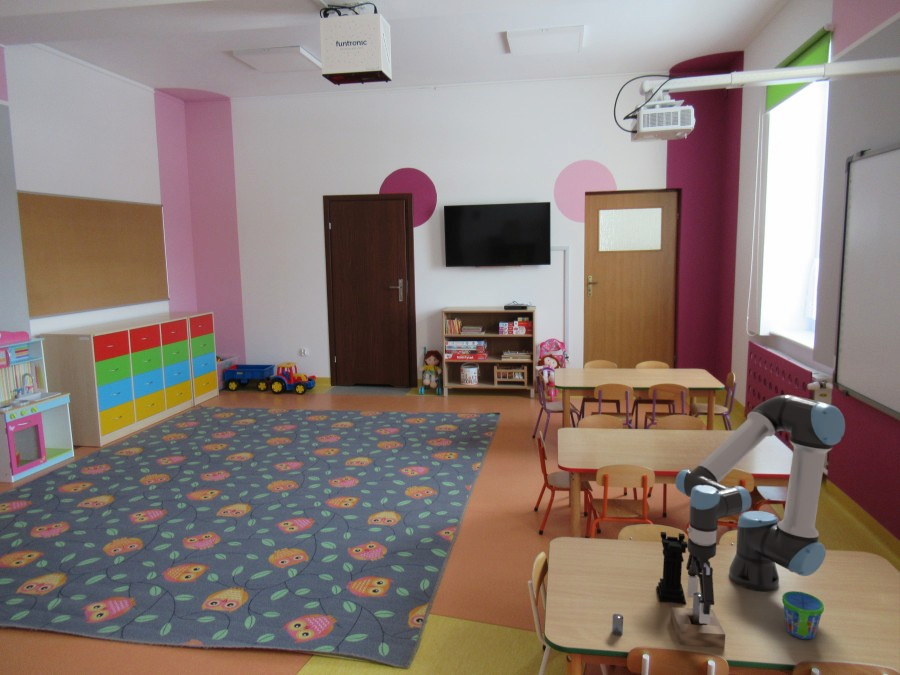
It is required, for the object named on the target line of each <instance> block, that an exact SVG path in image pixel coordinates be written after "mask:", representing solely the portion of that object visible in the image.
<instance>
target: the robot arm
mask: <svg viewBox="0 0 900 675" xmlns="http://www.w3.org/2000/svg"><path fill="white" fill-rule="evenodd" d="M781 431H783V432H784V431H785V432H787V433H790V434H789V443H790V444H791V445H792V446H793V452H792V459H791V464H790V472H789V480H788V485H787V493H786V499H785V500H786V501H785V506H784V513H783V519H782V520H780V521H779V519H778V518H779V517H778V516H777V515H776V514H773V513H770V512H767V511H761V510H760V511H759V510H749V509H750V508H751V506H752V497H751V494H750V493H749V491H748V490H747V488H745V487H743V486H741V485H732V486H727V485H724V484H723V483H720V482H721V481H722V480H723V479H724V478H725V477H727V475H728V474H730V472H731V471H732V470H733V469H734V468H735V467H737V466H738V465H739V464H740V462H742V460H744V459H745V458H746V457H747V456H748V455H749V454H750V453H751V452H753V450H755V448H757V446H758V445H759V444H761V443H762V442H763V441H764V440H765V439H766V437H772V436H774V435H775V434H776V433H777V432H781ZM845 431H846V421H845V418H844V415H843V413H842V412H841V410H840V408H838V407H837V406H835V405H832V404H828V403H825V402H823V401H819V400H815V399H814V400H813V399H810V398H806V397H801V396H798V395H794V394H782V395H777V396H774V397H771V398H769V399H767V400H765V401H763V402H762V403H760V404H758V405H757V406H755V407H754V408H753V409H751V411H750V412H749V413H747V417H746V420H745V421H744V422H743V423H742V424H741V425H739V427H738V428H737V429H736V430H734V431H733V433H731V434H730V435H729V436H728V437H727V438H726V439H724V441H723V442H722V443H721V444H720V445H718V446H717V448H715V449H714V451H712V452H711V453H710V454H709V455H708V456H707V457H706V458H704V460H703V461H702V462H701V463H700V464H699V465H697V467H695V468H694V469H693V470H692V469H682V470H681V471H679V472H678V473H677V475H676V477H675V487H676V489H677V491H679V492H680V493H682V494H683V495H685V496H686V497H688V498H689V497H690V498H689V517H688V518H689V522H688V524H689V525H688V526H689V527H688V528H687V529H686V532H688V538H687V544H688V548H687V552H688V559H687V562H686V570H687V575H688V576H687V577H688V578H687V592H686V593H687V594H686V596H687V598H689V599H690V598H692V599H693V596H694V593H695V592H698V590H699V588H700V593H701V598H702V600H700V601H699V603H700V615H699V622H700V623H705V624H710V614H711V608H712V606H714V605H715V594H714V593H715V592H714V582H713V581H714V580H713V578H714V577H713V575H714V574H713V571H714V568H713V567H712V566H711V561H710V559H712V558H714V557H715V556H716V554H717V541H718V528H719V527H718V526H719V525H718V524H719V523H718V522H719V519H723V518H726V517H730V516H735V515H739V516H738V522H737V529H736V530H737V532H736V533H737V534H736V553H735V555H734V557H733V559H732V562H731V564H730V566H729V568H728V569H729V571H728V576H729V578H730V579H731V580H732V581H733V582H734V583H735V584H737V585H738V586H741V587H743V588H745V589H749V590H752V591H757V592H758V591H760V592H769V591H773V590H776V589H777V588H778V587H779V585H780V584H779V582H780V576H779V573H778V570H777V569H778V568H777V565H778V566H780V567H782V568H784V569H785V570H788V571H789V572H791V573H795V574H797V575H798V576H802V577H808V576H811V575H813V574H815V572H817V571H818V570H819V569H820V567H822V564H823V563H824V561H825V558H826V548H825V546H824V544H823V543H821V542H819V538H820V532H819V531H818V530H817V528H816V520H817V519H816V518H817V512H818V507H819V506H818V505H819V500H820V493H821V487H822V486H821V485H822V480H823V474H824V473H823V472H824V467H825V460H826V455H827V452H829V451H831V450H833V448H834V447H833V446H834V445H837V444H838V443H840V442H841V440H842V438H843V437H844V434H845ZM776 564H777V565H776Z"/></svg>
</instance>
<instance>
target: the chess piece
mask: <svg viewBox="0 0 900 675" xmlns="http://www.w3.org/2000/svg"><path fill="white" fill-rule="evenodd" d="M685 538H686V536H685V534H684V533H678V537H676V536H667V532H666V531H660V539H661V545H662V548H663V549H662V553H663V554H662V555H663V569H662V578H661V577H660V578H659V581H658V582H657V583H658V584H657V585H656V591H657V592H656V593H657V596H658V597H657V598H658V601H659V602H660V603H668V604H669V603H671V604H678V605H679V604H680V605H687V600H686V596H685V593H684V587H683V585H682V567H683V565H682V564H683V563H684V560H685V559H684V556H683V554H686V552H687V550H686V549H688V541H686V540H685Z"/></svg>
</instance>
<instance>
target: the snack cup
mask: <svg viewBox="0 0 900 675" xmlns="http://www.w3.org/2000/svg"><path fill="white" fill-rule="evenodd" d="M781 600H782V604H783V611H784V612H783V614H784V622H785V628H786V630H787V633H788V634H790V635H792V636H794V637H795V638H798V639H800V640H811V639H814V638H815V637H816V634H817V631H818V628H819V624H820V621H821V616H822V614H823V612H824V610H825V606H824V603H823V601H821V600H820V599H819V598H817V597H816V596H814V595H812V594H810V593H806V592H802V591H795V590H793V591H787V592H784V593H783V595H782V599H781Z"/></svg>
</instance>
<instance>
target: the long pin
mask: <svg viewBox="0 0 900 675" xmlns="http://www.w3.org/2000/svg"><path fill="white" fill-rule="evenodd" d="M692 599H693V602H692V608H693V613H692V624H693V625H703V623H700V622H699V615H700V603H699V601H700V600H702V598H701V592H695V593H694V596H693V598H692Z"/></svg>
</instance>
